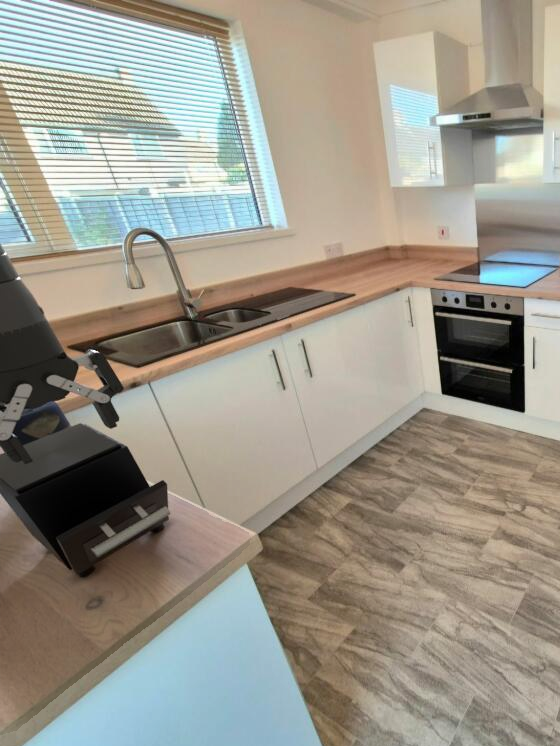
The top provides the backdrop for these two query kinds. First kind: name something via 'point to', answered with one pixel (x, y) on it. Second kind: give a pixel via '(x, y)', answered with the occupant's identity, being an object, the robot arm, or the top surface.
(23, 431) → the canister
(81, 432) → the oven
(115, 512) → the oven door
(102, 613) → the top surface
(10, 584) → the top surface
